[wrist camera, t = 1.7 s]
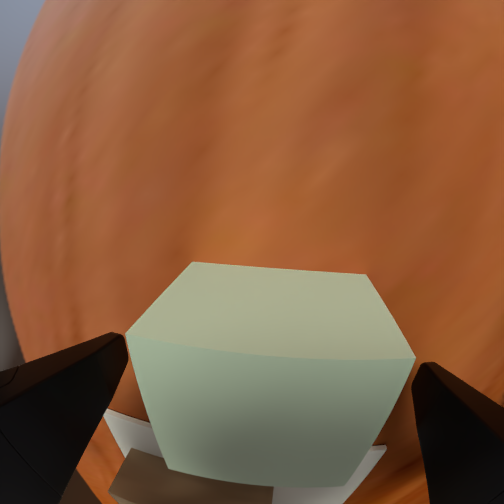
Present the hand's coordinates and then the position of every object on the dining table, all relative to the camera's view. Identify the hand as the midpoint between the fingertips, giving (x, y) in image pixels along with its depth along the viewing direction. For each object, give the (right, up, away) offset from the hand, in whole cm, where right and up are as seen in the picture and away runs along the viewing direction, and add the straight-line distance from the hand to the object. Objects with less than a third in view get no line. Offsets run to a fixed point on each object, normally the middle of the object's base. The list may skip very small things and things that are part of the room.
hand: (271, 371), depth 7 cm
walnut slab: (-4, -12, +5) cm, 13 cm away
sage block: (0, 0, +2) cm, 2 cm away
